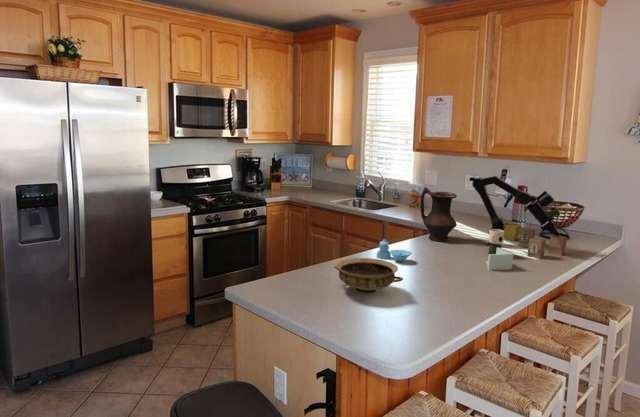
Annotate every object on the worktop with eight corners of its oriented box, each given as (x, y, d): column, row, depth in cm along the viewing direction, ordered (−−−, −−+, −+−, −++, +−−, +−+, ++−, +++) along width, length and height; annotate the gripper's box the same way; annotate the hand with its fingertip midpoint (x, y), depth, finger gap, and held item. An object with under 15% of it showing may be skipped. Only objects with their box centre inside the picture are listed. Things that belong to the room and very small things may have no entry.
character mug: (497, 258, 242) (499, 233, 239) (483, 256, 246) (485, 230, 244) (505, 254, 250) (507, 230, 248) (491, 252, 254) (494, 227, 252)
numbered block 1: (529, 246, 269) (530, 230, 268) (518, 244, 273) (520, 228, 272) (533, 244, 274) (535, 228, 272) (523, 242, 278) (524, 227, 276)
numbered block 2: (539, 259, 243) (541, 241, 242) (527, 256, 248) (528, 239, 246) (543, 256, 248) (545, 239, 246) (532, 254, 252) (533, 237, 251)
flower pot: (516, 242, 278) (517, 226, 277) (500, 239, 284) (501, 224, 282) (520, 239, 285) (521, 224, 284) (505, 236, 291) (506, 222, 289)
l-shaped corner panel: (496, 262, 237) (498, 247, 235) (511, 269, 225) (513, 254, 224) (474, 263, 234) (475, 248, 233) (488, 270, 222) (490, 255, 221)
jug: (452, 236, 287) (456, 186, 282) (458, 244, 269) (462, 190, 264) (416, 234, 289) (419, 184, 284) (419, 242, 271) (422, 188, 266)
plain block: (560, 255, 251) (562, 238, 250) (548, 253, 255) (550, 236, 254) (564, 253, 255) (567, 237, 254) (553, 251, 260) (555, 234, 258)
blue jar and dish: (415, 261, 233) (416, 243, 231) (403, 266, 225) (404, 247, 224) (383, 254, 245) (384, 236, 243) (371, 258, 237) (372, 240, 235)
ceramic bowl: (414, 290, 192) (415, 266, 190) (385, 308, 173) (387, 281, 171) (349, 275, 209) (350, 252, 207) (316, 289, 190) (317, 265, 188)
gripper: (550, 205, 245) (572, 229, 242) (551, 200, 261) (572, 223, 258) (532, 219, 250) (553, 242, 247) (534, 213, 266) (554, 235, 263)
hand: (559, 235), depth 254 cm, fingers closed
